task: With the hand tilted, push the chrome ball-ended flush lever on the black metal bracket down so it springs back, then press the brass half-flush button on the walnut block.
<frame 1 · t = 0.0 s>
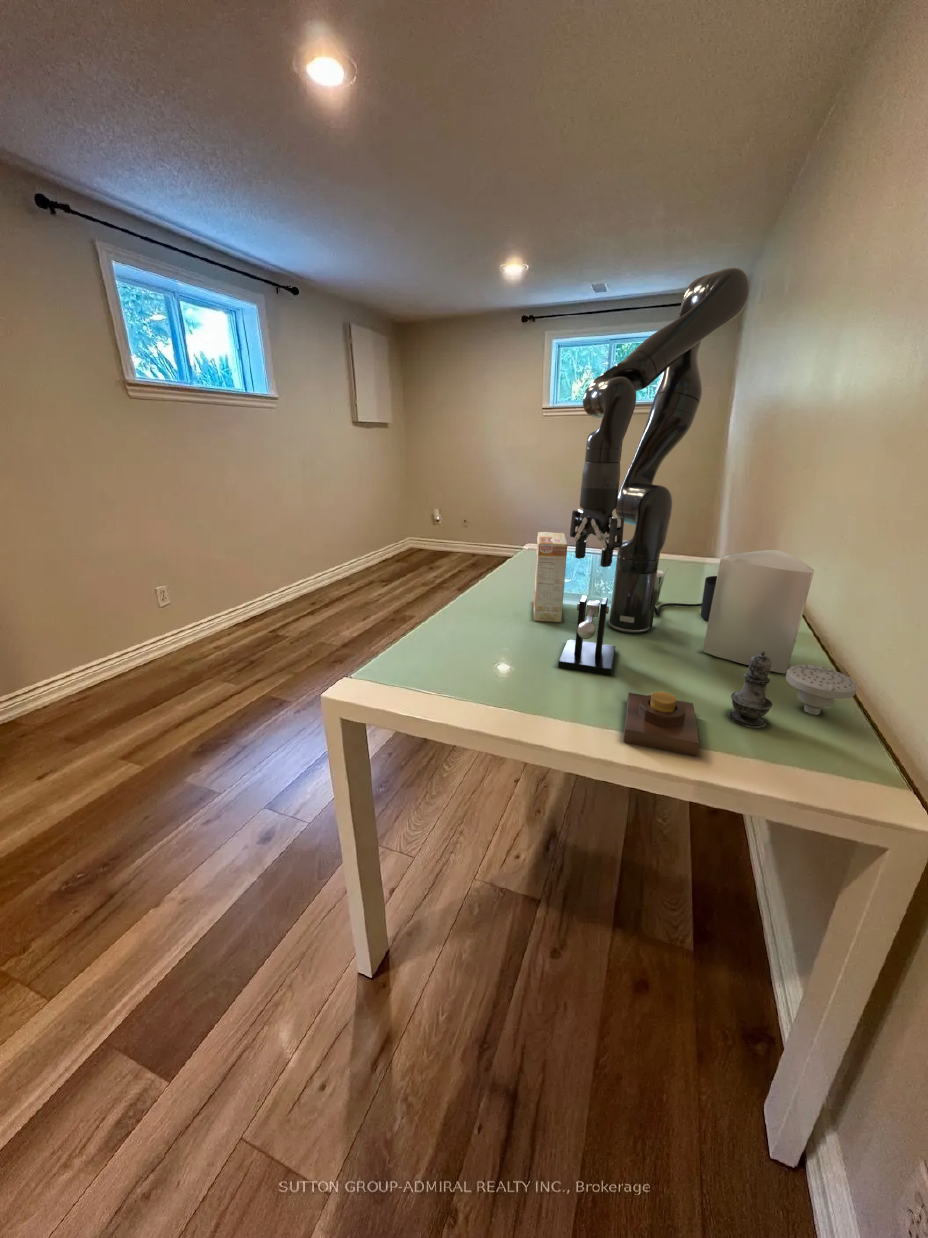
hand: (592, 562, 106), 17 cm above the table, tool pointing down, fingers open, 8 cm apart
button: (663, 702, 75), point 4 cm above the table, slide at 0.1 cm
button block: (658, 727, 76), on the table
salt shaker: (746, 720, 79), on the table
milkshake: (653, 602, 136), on the table
showerhead: (811, 713, 81), on the table
pen holder: (718, 619, 124), on the table
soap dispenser: (749, 655, 103), on the table
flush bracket: (587, 659, 100), on the table
coffeecake box: (546, 612, 127), on the table
lever: (589, 619, 92), point 11 cm above the table, hinge at -5.4°
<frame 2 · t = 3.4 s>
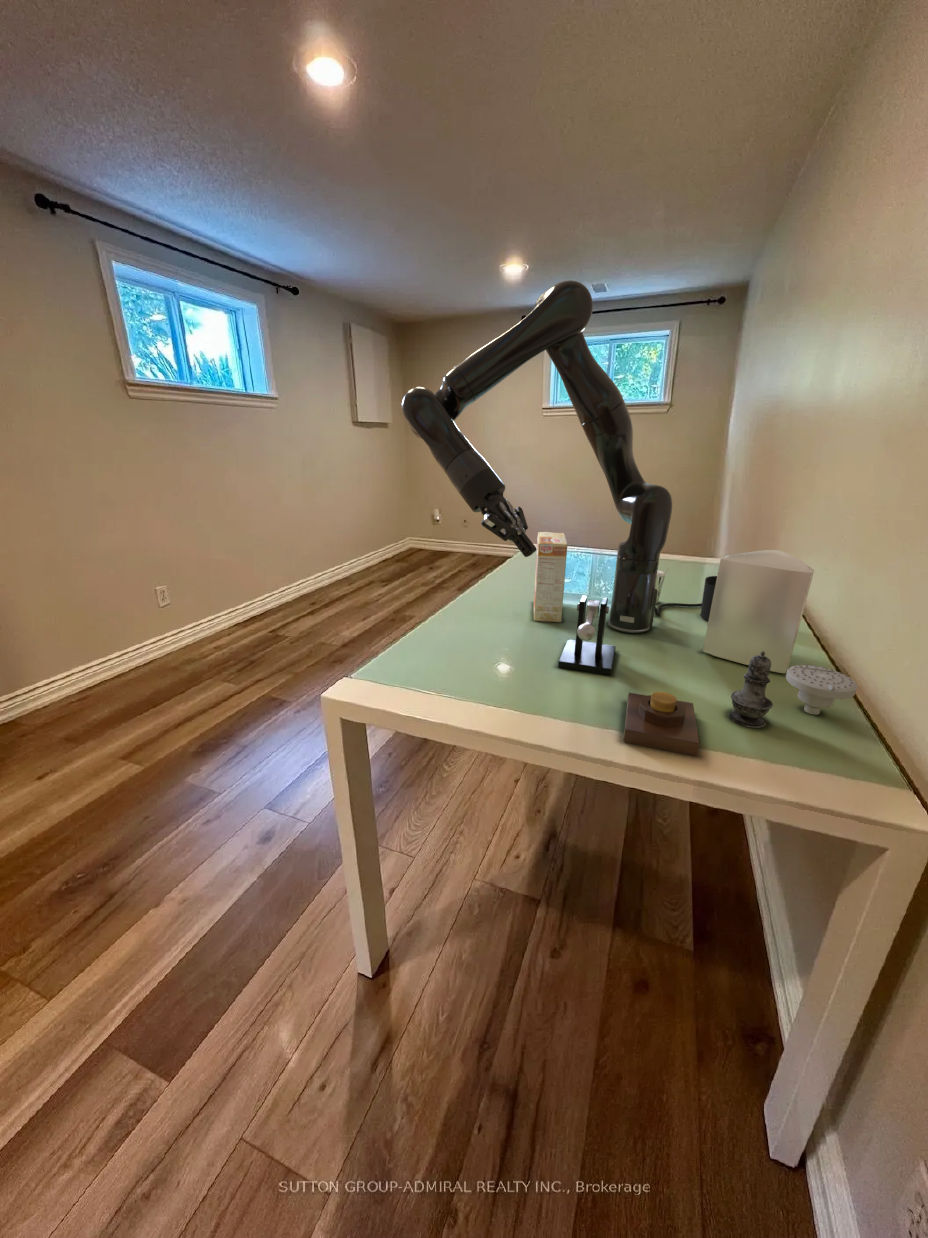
hand: (531, 553, 89), 23 cm above the table, tool tilted 45°, fingers closed
lever: (589, 619, 92), point 10 cm above the table, hinge at -7.4°
everything else where it was.
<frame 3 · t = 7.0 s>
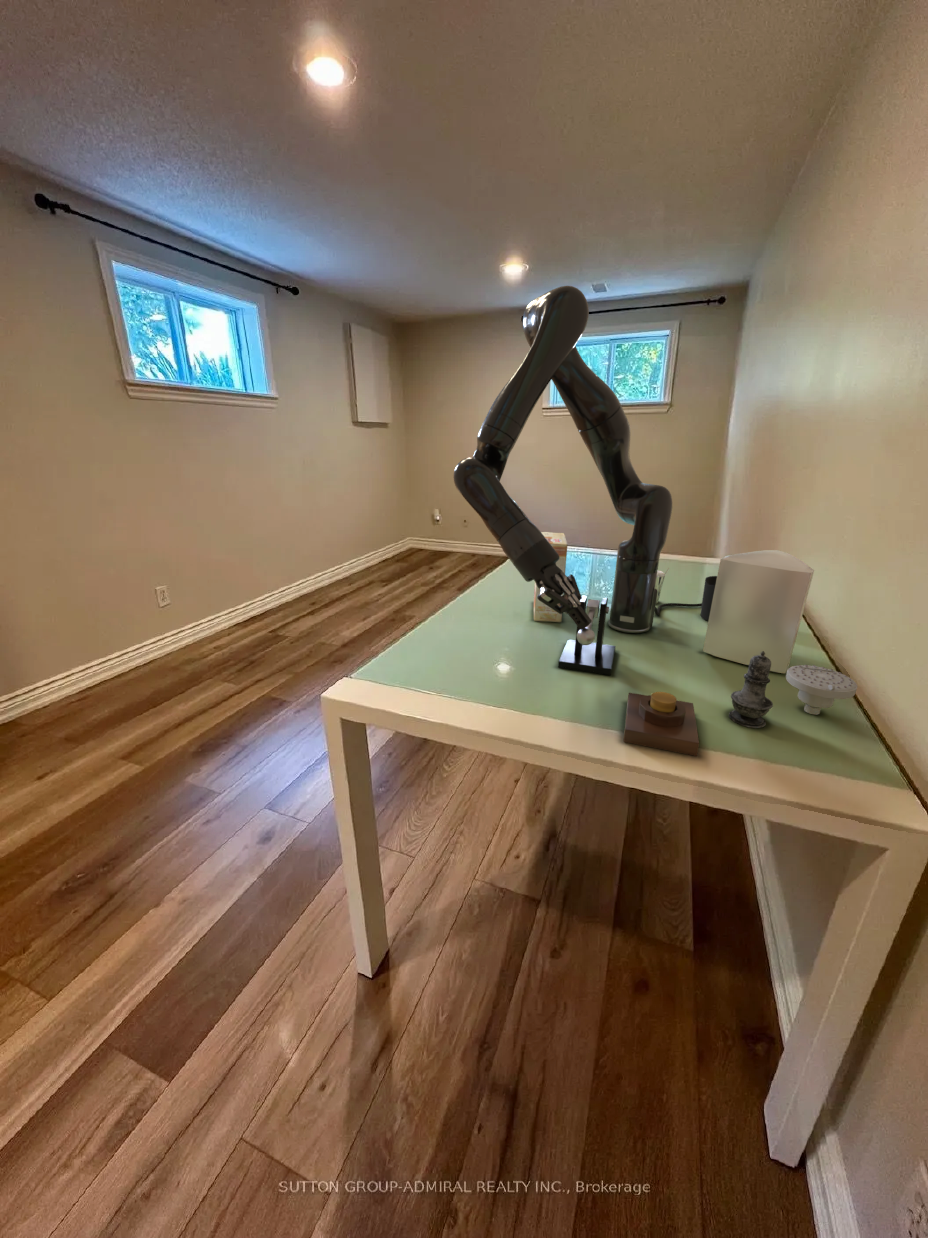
hand: (586, 626, 88), 11 cm above the table, tool tilted 45°, fingers closed
lever: (589, 622, 92), point 10 cm above the table, hinge at -13.0°, touching gripper
everything else where it was.
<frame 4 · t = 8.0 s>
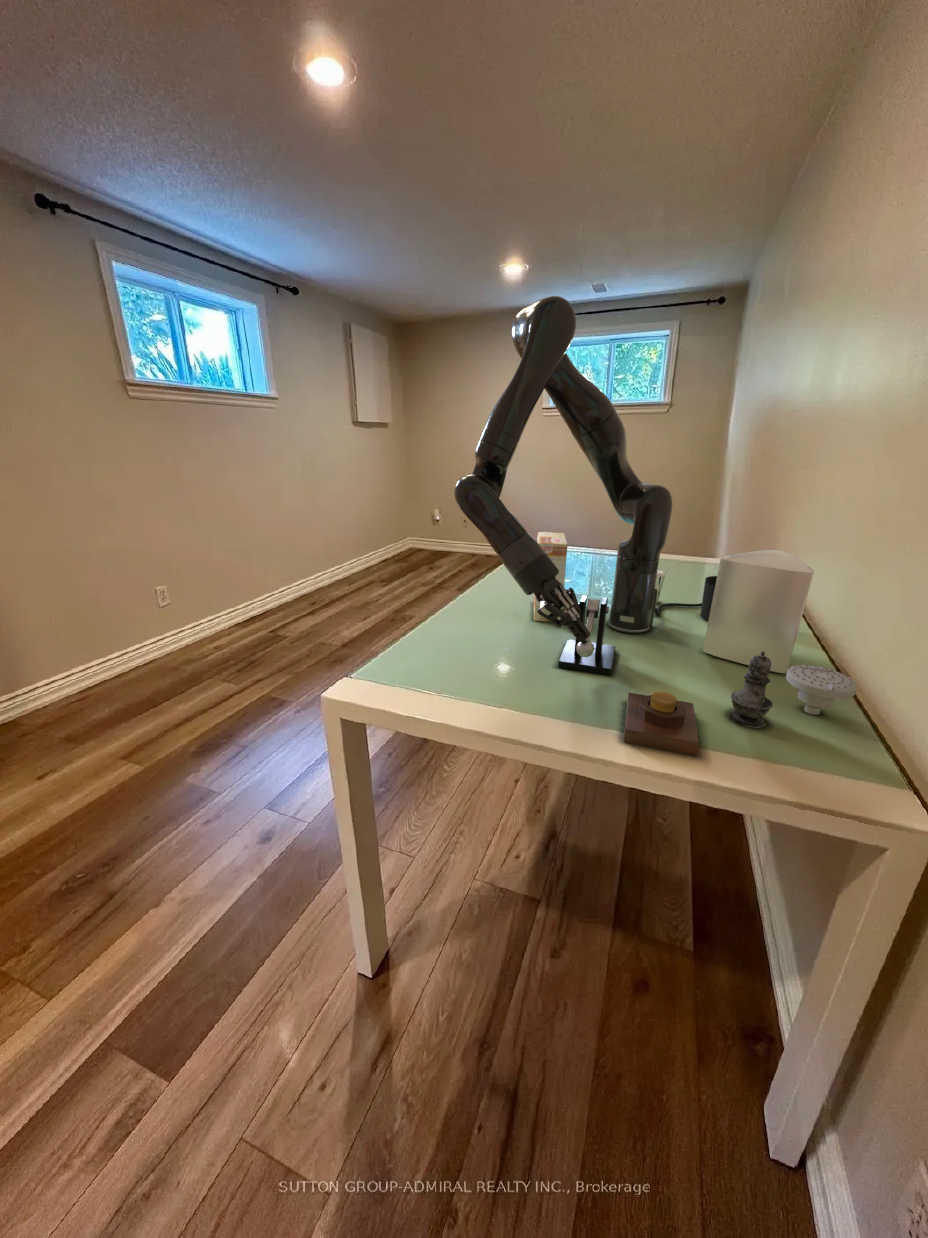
hand: (585, 638, 89), 8 cm above the table, tool tilted 45°, fingers closed
lever: (589, 628, 93), point 8 cm above the table, hinge at -30.6°, touching gripper
everything else where it was.
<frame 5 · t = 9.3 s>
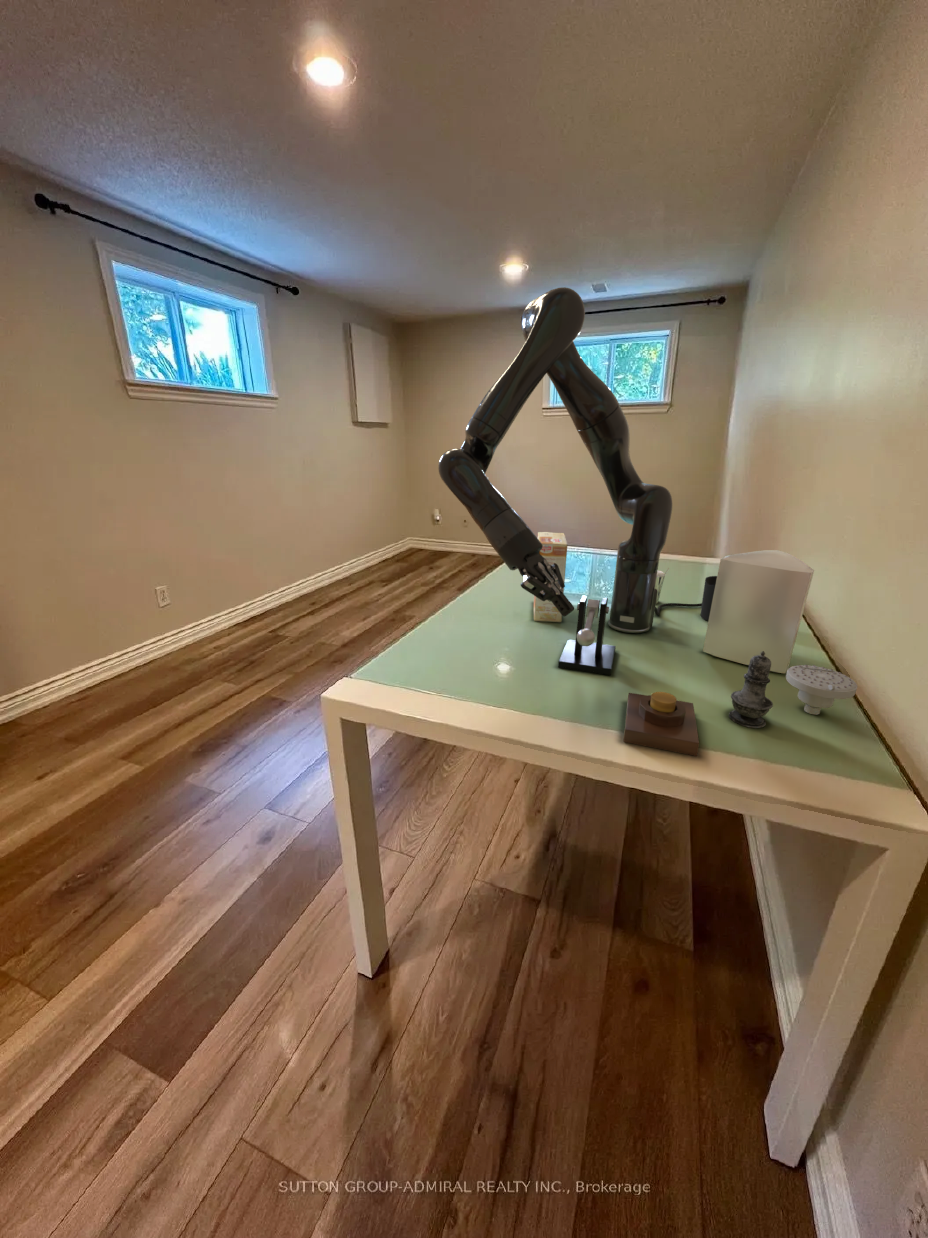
hand: (569, 613, 90), 12 cm above the table, tool tilted 45°, fingers closed
lever: (589, 622, 92), point 10 cm above the table, hinge at -14.2°
everything else where it was.
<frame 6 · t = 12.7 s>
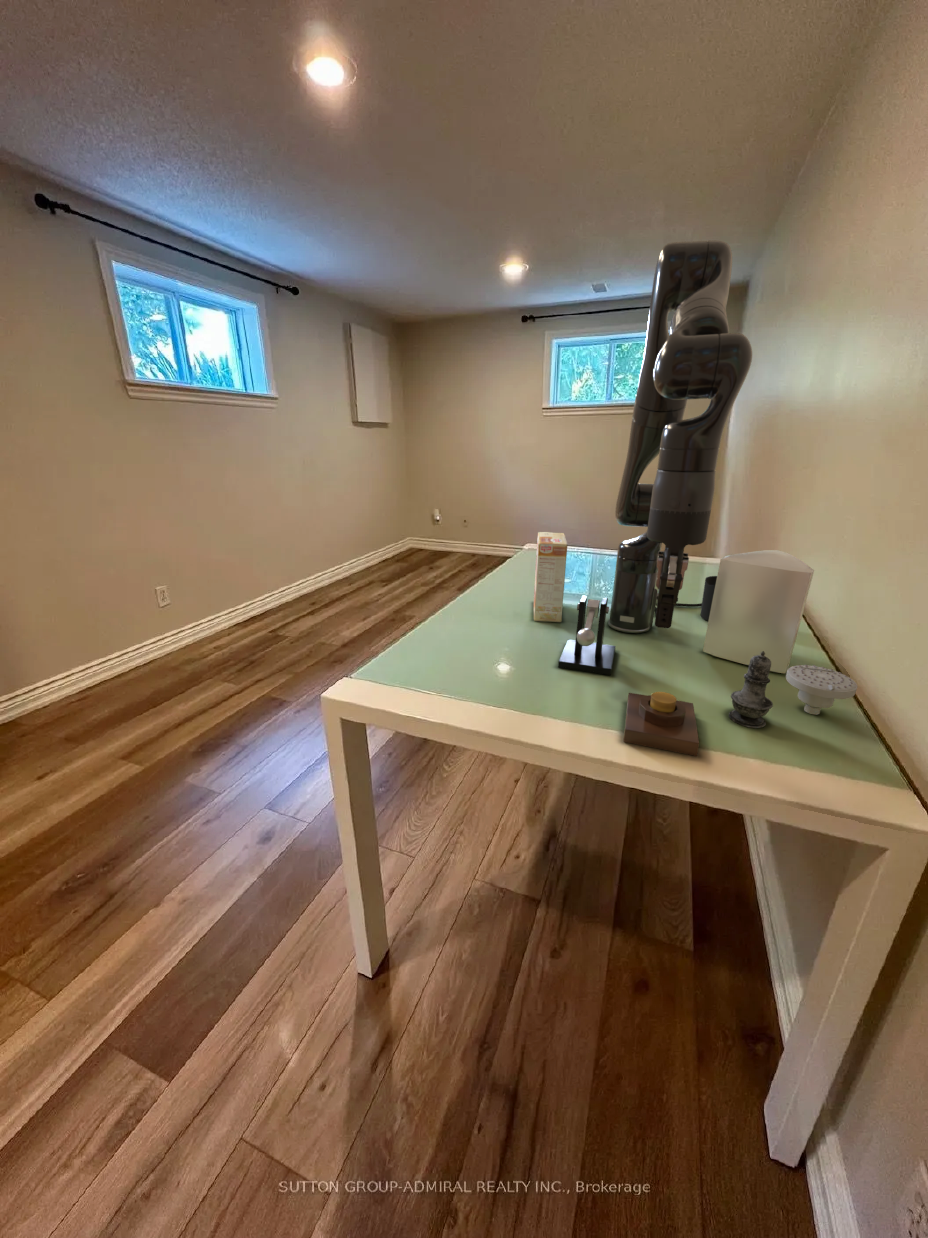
hand: (662, 625, 71), 17 cm above the table, tool pointing down, fingers closed
nothing on the table moved.
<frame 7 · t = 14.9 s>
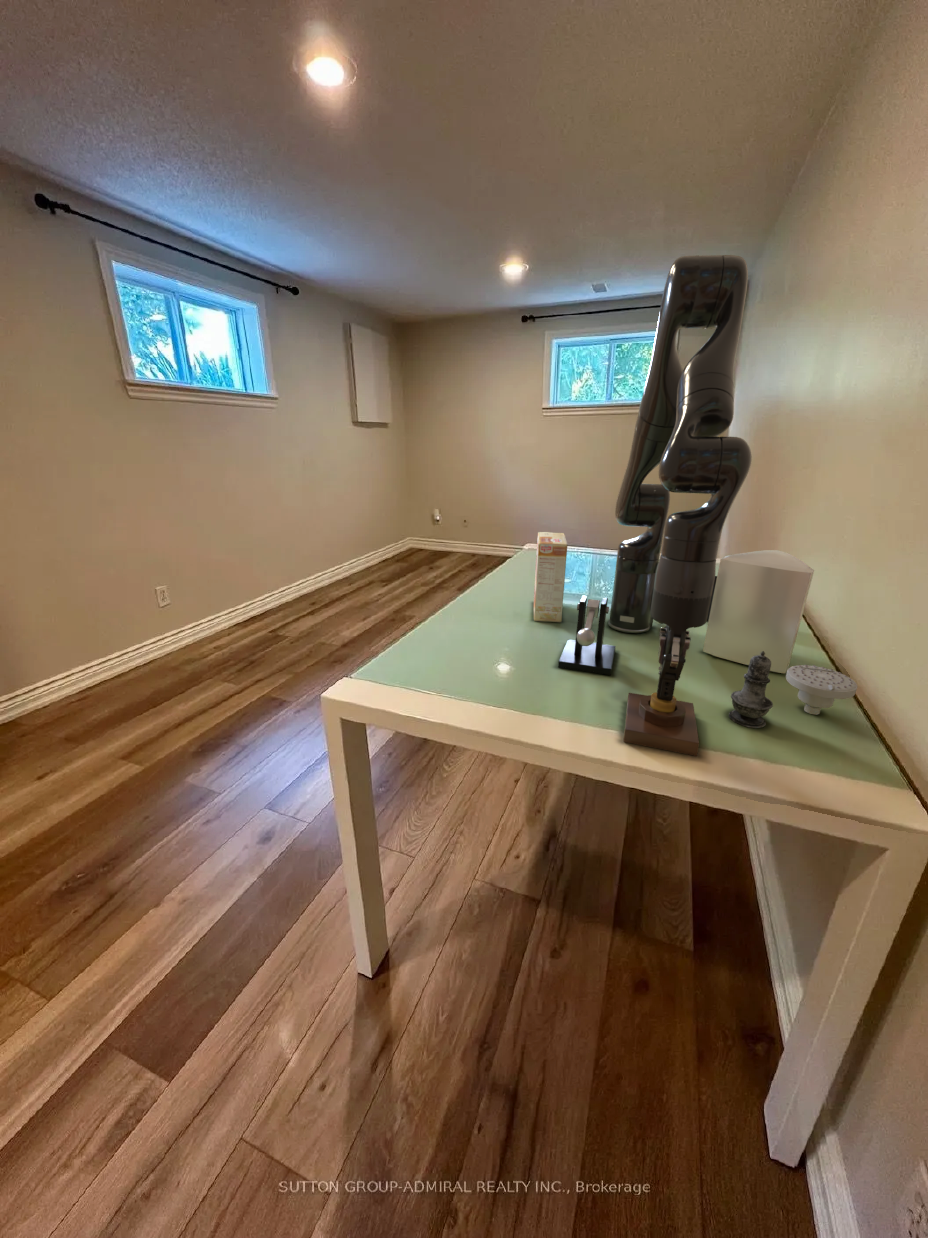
hand: (664, 697, 74), 5 cm above the table, tool pointing down, fingers closed
button: (663, 702, 75), point 4 cm above the table, slide at 0.1 cm, touching gripper
everything else where it was.
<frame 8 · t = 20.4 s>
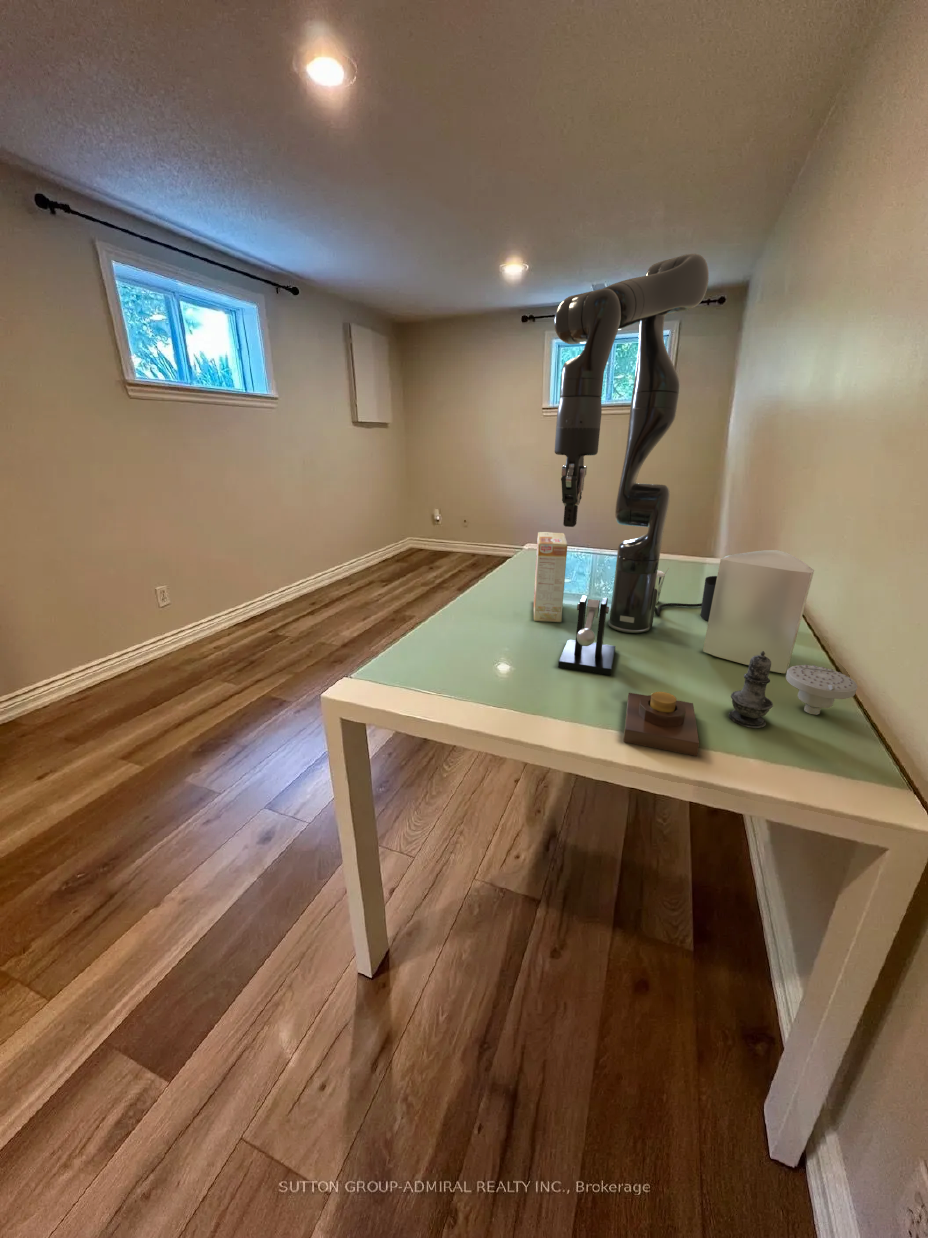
hand: (569, 525, 91), 27 cm above the table, tool pointing down, fingers closed
button: (663, 702, 75), point 5 cm above the table, slide at 0.1 cm
everything else where it was.
at the end: lever reached -31° during the clip, -14° at the end; button pushed in 1.1 cm at the most during the clip, back to where it started at the end; button slide at 0.1 cm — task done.
